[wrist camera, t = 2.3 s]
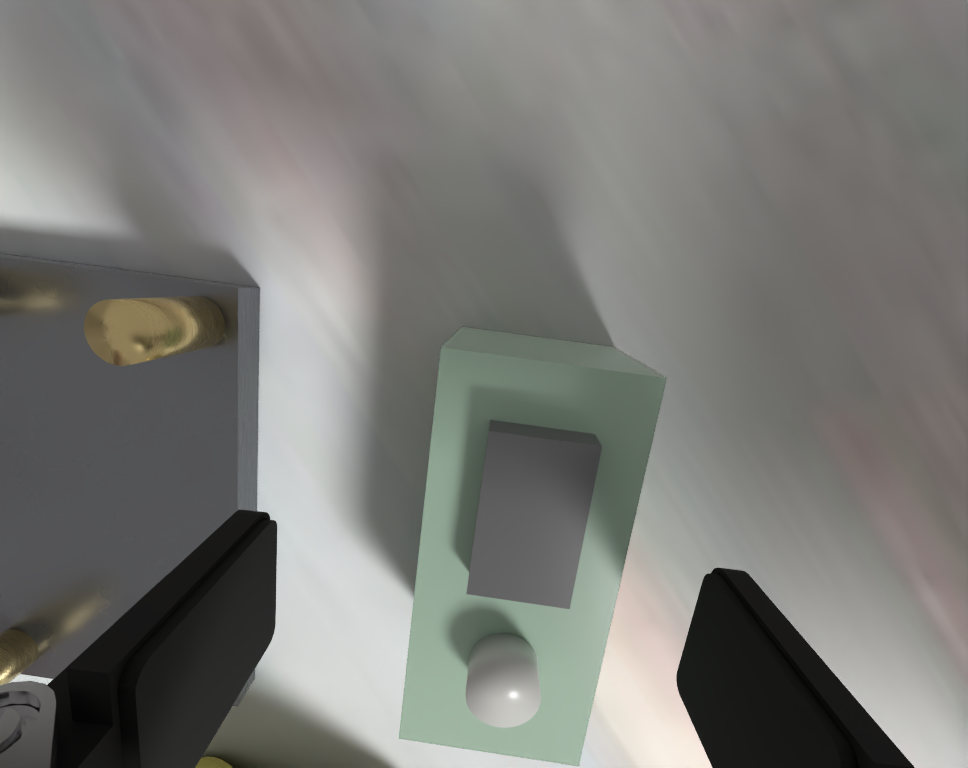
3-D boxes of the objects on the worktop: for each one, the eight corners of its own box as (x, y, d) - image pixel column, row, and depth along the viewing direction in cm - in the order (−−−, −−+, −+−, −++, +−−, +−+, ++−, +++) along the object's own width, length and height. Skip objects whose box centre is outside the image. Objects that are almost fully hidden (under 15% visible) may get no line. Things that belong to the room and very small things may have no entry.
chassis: (259, 287, 15) (163, 289, 10) (254, 678, 18) (180, 795, 14) (-26, 249, 15) (-230, 237, 11) (23, 644, 18) (-116, 749, 14)
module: (613, 346, 15) (684, 388, 9) (558, 628, 17) (584, 808, 11) (462, 325, 15) (433, 354, 9) (429, 609, 17) (389, 777, 11)
